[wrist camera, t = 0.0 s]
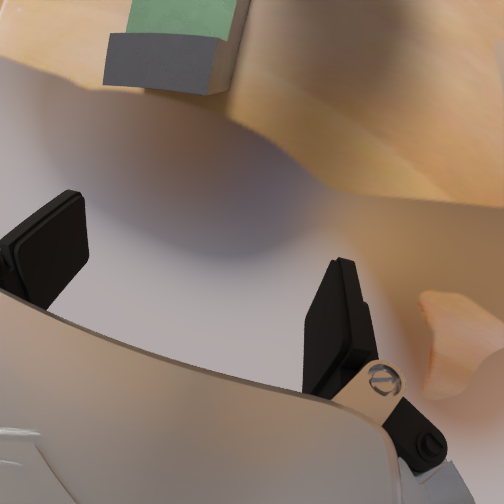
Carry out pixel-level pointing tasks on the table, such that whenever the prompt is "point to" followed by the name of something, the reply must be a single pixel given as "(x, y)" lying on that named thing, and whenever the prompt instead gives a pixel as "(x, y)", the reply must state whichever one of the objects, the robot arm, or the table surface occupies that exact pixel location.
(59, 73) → the table surface
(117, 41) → the stepped stand
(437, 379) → the table surface
